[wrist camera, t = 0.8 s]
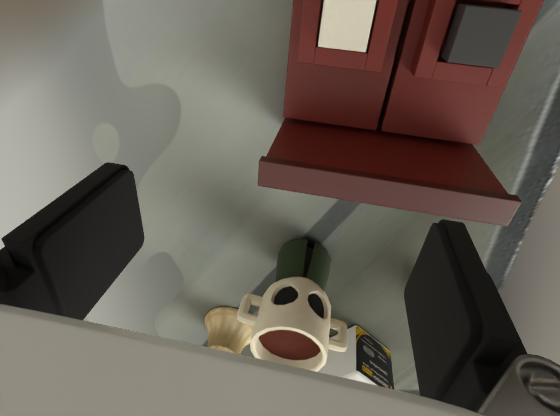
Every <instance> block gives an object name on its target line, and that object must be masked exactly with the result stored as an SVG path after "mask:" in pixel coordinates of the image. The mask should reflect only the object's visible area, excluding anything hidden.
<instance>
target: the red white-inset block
mask: <svg viewBox="0 0 560 416" xmlns="http://www.w3.org/2000/svg"><path fill="white" fill-rule="evenodd" d="M323 3H324V0H294V2H293V13H292V24H291V35H290V46H289V57H288V68H287V80H286V91H285V102H284V113H283V117H285V118H292V119H299V120H306V121H313V122H320V123H327V124H334V125H341V126H348V127H355V128H362V129H369V130H376V129H377V125H378V121H379V117H380V113H381V109H382V105H383V101H384V98H385V94H386V90H387V86H388V82H389V78H390V74H391V70H392V66H393V62H394V58H395V54H396V50H397V46H398V42H399V38H400V34H401V30H402V26H403V22H404V18H405V14H406V10H407V7H408V3H409V0H376V5H375V10H374V15H373V20H372V25H371V29H370V34H369V39H368V44H367V49H366V52H358V51H350V50H341V49H333V48H325V47H318V41H319V33H320V26H321V18H322V11H323Z"/></svg>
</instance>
